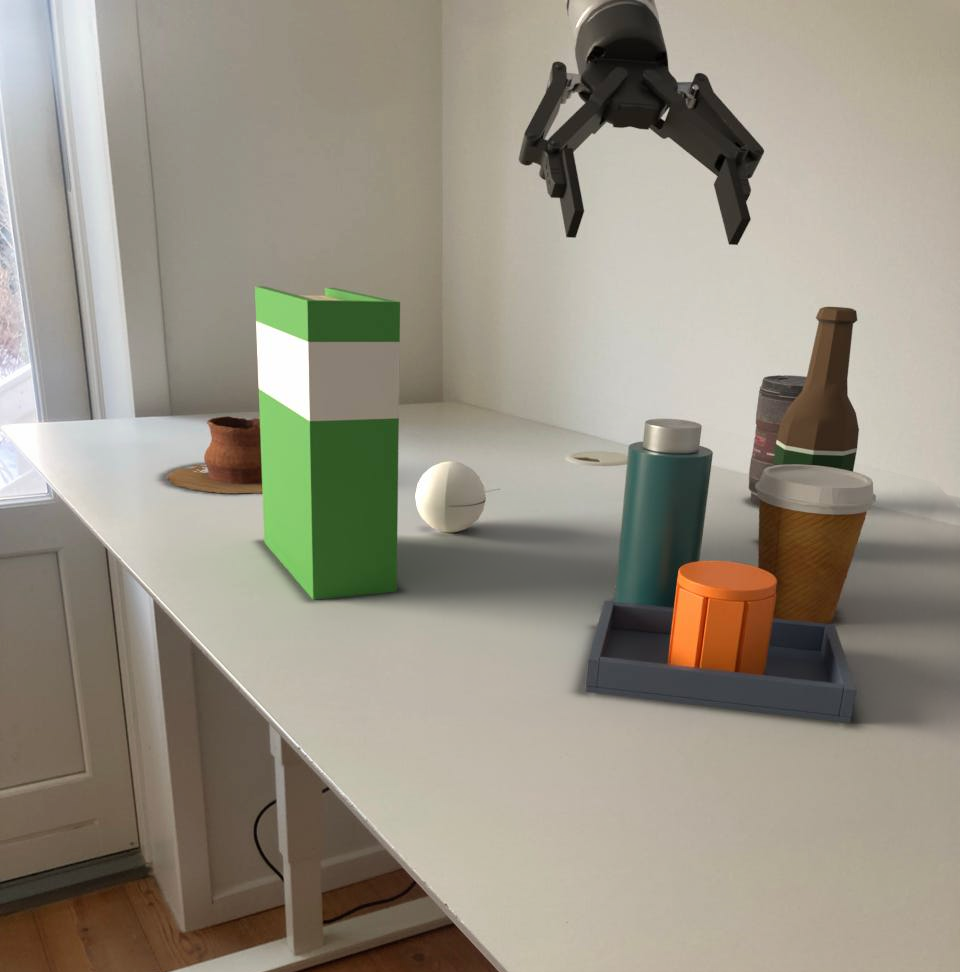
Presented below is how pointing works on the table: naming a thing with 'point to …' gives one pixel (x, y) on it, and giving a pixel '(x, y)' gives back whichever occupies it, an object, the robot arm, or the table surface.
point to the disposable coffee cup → (810, 535)
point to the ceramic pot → (227, 459)
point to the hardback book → (330, 437)
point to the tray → (781, 690)
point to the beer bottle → (823, 401)
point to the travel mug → (770, 422)
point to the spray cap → (722, 617)
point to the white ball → (450, 497)
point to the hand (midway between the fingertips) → (658, 228)
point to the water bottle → (662, 511)
